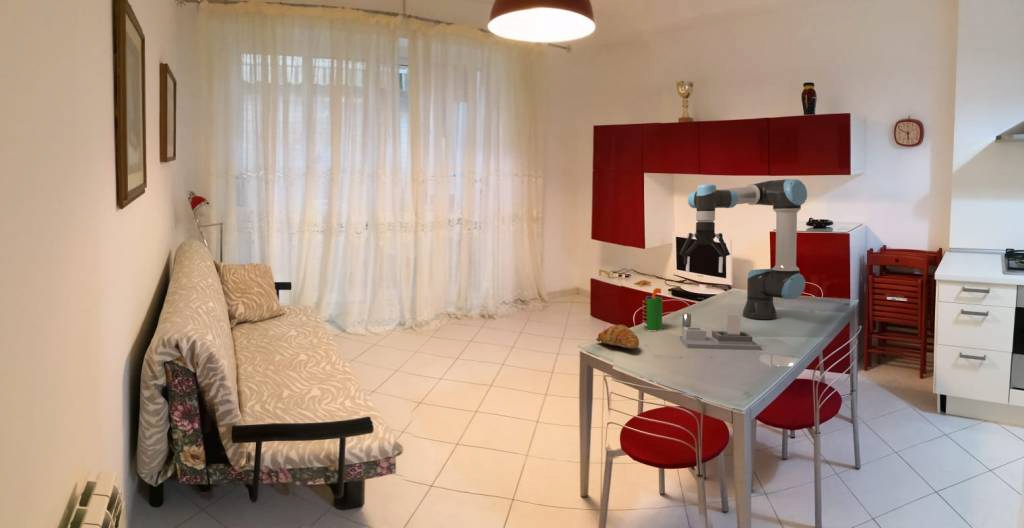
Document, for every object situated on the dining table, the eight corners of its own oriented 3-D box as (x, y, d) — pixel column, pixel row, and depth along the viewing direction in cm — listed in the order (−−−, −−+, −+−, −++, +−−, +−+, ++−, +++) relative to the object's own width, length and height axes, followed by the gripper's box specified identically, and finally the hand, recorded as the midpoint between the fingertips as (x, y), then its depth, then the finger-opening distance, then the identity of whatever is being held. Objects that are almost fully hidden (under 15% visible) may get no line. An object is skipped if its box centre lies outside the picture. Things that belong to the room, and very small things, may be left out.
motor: (638, 330, 285) (639, 286, 284) (657, 330, 286) (659, 287, 285) (645, 334, 275) (646, 289, 274) (665, 334, 276) (666, 289, 274)
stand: (747, 341, 261) (748, 328, 261) (760, 349, 243) (761, 336, 243) (679, 339, 264) (679, 326, 263) (687, 347, 246) (687, 333, 246)
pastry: (590, 342, 255) (590, 323, 255) (610, 339, 264) (610, 320, 263) (630, 351, 240) (631, 330, 239) (650, 346, 248) (651, 326, 248)
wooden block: (736, 337, 256) (736, 313, 255) (739, 340, 250) (740, 315, 249) (723, 337, 256) (724, 313, 255) (726, 339, 250) (727, 315, 249)
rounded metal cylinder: (689, 336, 272) (690, 313, 271) (691, 337, 268) (691, 314, 268) (681, 335, 272) (682, 313, 272) (682, 337, 269) (683, 314, 268)
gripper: (733, 221, 264) (731, 271, 265) (673, 221, 265) (672, 271, 267) (738, 221, 256) (736, 273, 258) (677, 221, 258) (675, 272, 259)
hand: (703, 272), depth 262 cm, fingers open, 13 cm apart
